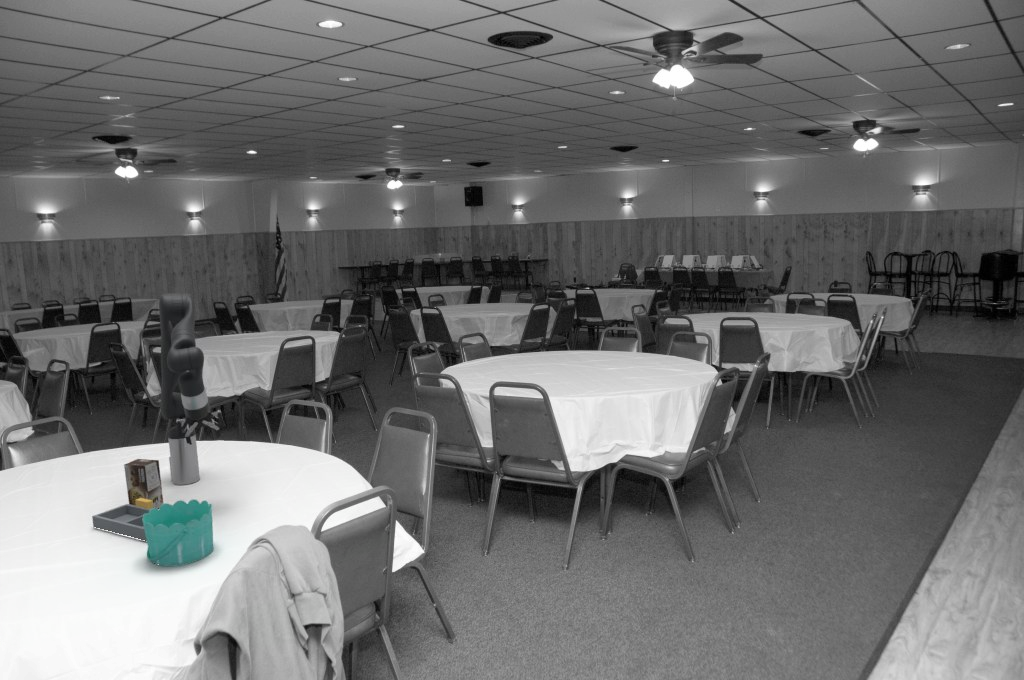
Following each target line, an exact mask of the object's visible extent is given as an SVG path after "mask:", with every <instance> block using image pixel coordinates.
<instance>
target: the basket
mask: <svg viewBox="0 0 1024 680" xmlns="http://www.w3.org/2000/svg"><path fill="white" fill-rule="evenodd" d="M172 505H173V506H172ZM212 507H213V505H212V503H209V502H208V501H207V500H202V501H201V502H199V501H198V500H197V499H190V500H189V501H188V503H187V502H186V501H184V500H176V501H175V502H174V503H173V504H171V505H170V503H163V505H161V506H160V508H159V509H156V508H152V509H151V510H150V511H149V515H148V514H146V513H145V514H144V515H143V519H142V520H143V527H144V530H145V536H146V539H147V542H146V543H147V550H146V557H147V559H148V560H150V562H151V561H152V562H153V563H152V562H151V563H152V564H154V563H155V564H154V565H156V564H159V565H158V566H160V565H166V566H165V567H175V565H176V566H183V565H187V564H190V563H193V562H194V563H195V562H197V561H200V560H202V559H204V558H206V557H207V556H209V555H210V554H211V553H212V552H213V550H214V530H213V529H214V528H213V508H212Z"/></svg>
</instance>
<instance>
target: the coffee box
mask: <svg viewBox="0 0 1024 680" xmlns="http://www.w3.org/2000/svg"><path fill="white" fill-rule="evenodd" d="M159 461H160V460H159V459H147V458H143V459H142V458H136V459H134V460H132V461H129V462H127V463H125V464H123V467H124V475H125V482H126V490H127V497H128V504H130V505H135V506H136V502H135V500H136V499H139V498H144V499H148V500H153V508H156V509H158V508H160V506H161V505H163V504H164V497H163V496H164V495H163V490H162V489H163V488H162V480H161V478H162V477H161V470H160V469H161V468H160V462H159ZM158 510H159V509H158Z"/></svg>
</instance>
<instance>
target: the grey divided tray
mask: <svg viewBox="0 0 1024 680" xmlns="http://www.w3.org/2000/svg"><path fill="white" fill-rule="evenodd" d="M135 502H136V506H135V505H130V504H129V503H125V504H123V505H120V506H117V507H115V508H112V509H109V510H106V511H103V512H99V513H97V514H94V515H92V516H91V517H92V519H91V520H92V523H93V524H92V526H93V528H94V527H96V528H100V529H104V530H108V531H112V532H115V533H119V534H123V535H127V536H131V537H134V538H138V539H141V540H145V541H147V539H146V536H145V530H144V527H143V520H142V519H143V515H144V514H145V513H146V514H148V515H149V511H150V510H151V509H152V508H153V500H148V499H144V498H139V499H136V500H135ZM169 504H170V503H169ZM170 505H172V506H173V505H174V504H170Z"/></svg>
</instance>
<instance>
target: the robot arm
mask: <svg viewBox="0 0 1024 680" xmlns="http://www.w3.org/2000/svg"><path fill="white" fill-rule="evenodd" d="M158 300H159V301H158V311H159V313H158V314H159V324H160V325H159V326H160V336H161V337H160V338H161V339H160V368H161V369H160V370H161V371H160V372H161V387H160V388H161V392H160V413H161V416H162V418H163V419H164V420H176V425H174V426H172V427H171V428H169V429H168V430H167V435H168V436H167V437H168V445H169V455H170V456H169V458H168V460H169V467H170V468H169V469H170V479H171V483H173V484H174V485H178V486H179V485H181V486H183V485H190V484H195V483H196V482H199V481H200V479H201V476H200V466H199V456H198V445H197V435H196V430H198V429H201V428H207V426H208V427H210V428H212V429H213V430H214V431H215V435H216V436H215V437H216V439H220V437H221V436H222V435H221V430H220V429H221V428H224V427H225V421H224V418H223V415H222V411H221V409H220V408H218V409H216V411H214V412H212V411H211V408H210V403H209V397H208V393H207V391H206V389H205V384H204V379H203V368H204V364H205V363H204V362H205V355H204V351H203V350H202V349H201V348H199V347H198V346H197V345H196V338H195V337H196V336H195V325H196V305H195V304H196V303H195V298H194V297H193V295H192V294H191V293H187V292H186V293H184V292H183V293H182V292H177V293H176V292H174V293H171V292H169V293H163V294H161V295H160V297H159V299H158ZM171 321H174V322H175V321H178V322H177V323H176V324H175V326H174V327H173V325H172V322H171ZM176 386H179V390H180V392H176V393H174V391H175V389H176ZM213 417H215V418H216V419H218V421H219V422H217V421H215V420H214V419H213Z"/></svg>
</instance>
